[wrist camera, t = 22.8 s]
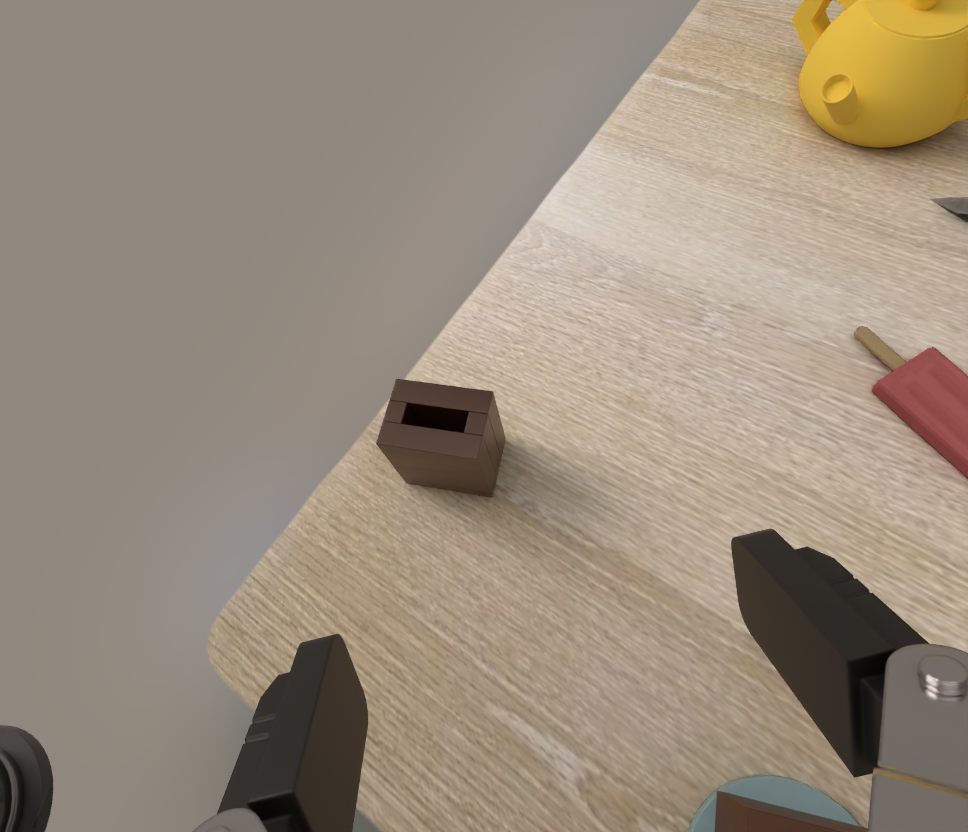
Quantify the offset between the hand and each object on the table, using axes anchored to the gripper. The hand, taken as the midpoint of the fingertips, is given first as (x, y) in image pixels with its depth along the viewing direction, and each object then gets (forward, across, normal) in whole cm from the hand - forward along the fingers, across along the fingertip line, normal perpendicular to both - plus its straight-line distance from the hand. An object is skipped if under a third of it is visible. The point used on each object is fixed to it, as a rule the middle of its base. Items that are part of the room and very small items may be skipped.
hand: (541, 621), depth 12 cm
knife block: (+35, +4, +10) cm, 36 cm away
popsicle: (+31, -31, +14) cm, 46 cm away
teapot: (+51, -40, -7) cm, 66 cm away
